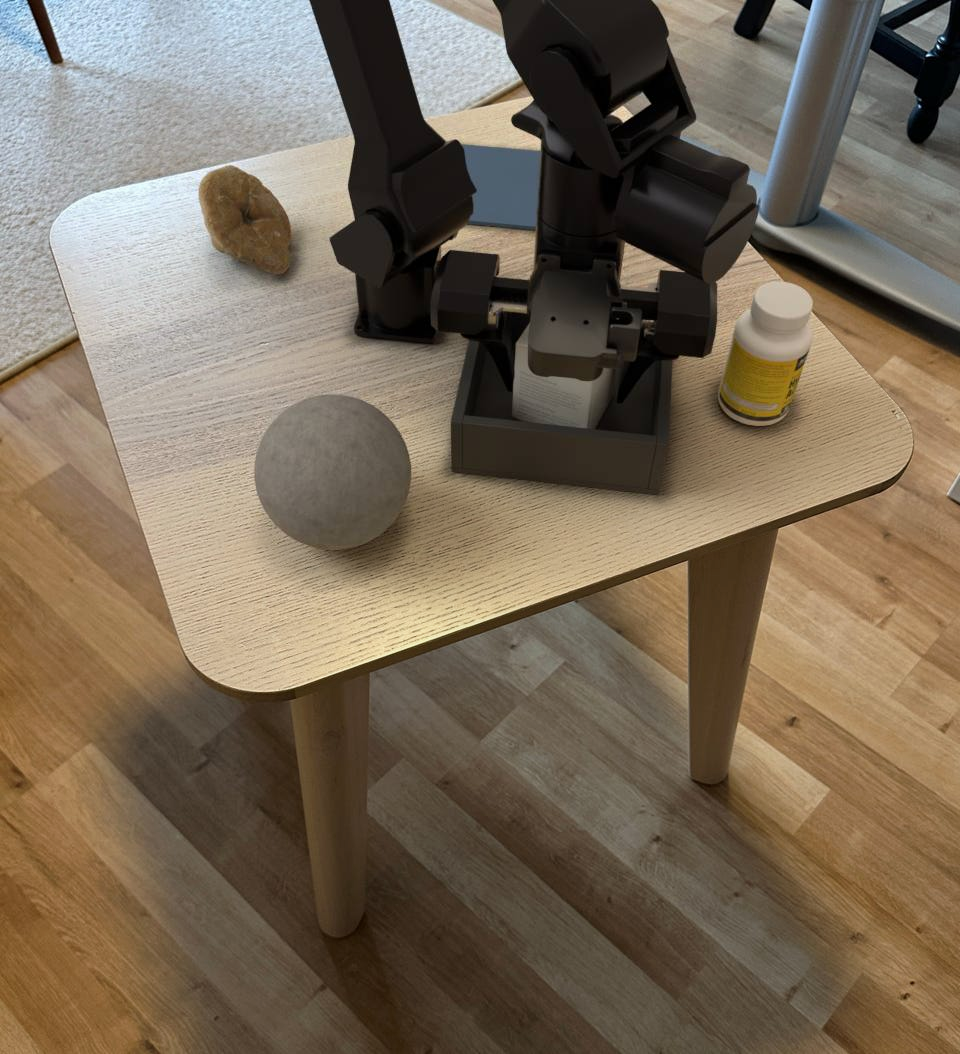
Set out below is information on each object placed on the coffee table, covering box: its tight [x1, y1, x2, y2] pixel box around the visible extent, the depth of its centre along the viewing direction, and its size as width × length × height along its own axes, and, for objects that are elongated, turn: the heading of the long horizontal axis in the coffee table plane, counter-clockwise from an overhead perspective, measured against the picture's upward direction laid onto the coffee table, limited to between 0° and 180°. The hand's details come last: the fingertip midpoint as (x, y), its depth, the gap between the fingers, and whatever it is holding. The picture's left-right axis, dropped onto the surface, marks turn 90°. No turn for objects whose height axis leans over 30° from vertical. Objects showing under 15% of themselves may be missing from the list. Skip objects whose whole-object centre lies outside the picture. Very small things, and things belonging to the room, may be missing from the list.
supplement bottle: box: [717, 281, 814, 427], centre depth 77 cm, size 5×5×10 cm
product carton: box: [512, 318, 619, 429], centre depth 77 cm, size 6×6×7 cm
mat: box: [461, 143, 540, 231], centre depth 98 cm, size 12×12×1 cm
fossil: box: [197, 164, 293, 276], centre depth 90 cm, size 9×4×10 cm
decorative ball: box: [253, 393, 412, 551], centre depth 69 cm, size 10×10×10 cm
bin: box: [450, 312, 674, 496], centre depth 78 cm, size 15×15×5 cm
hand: (565, 393), depth 79 cm, fingers open, 8 cm apart
